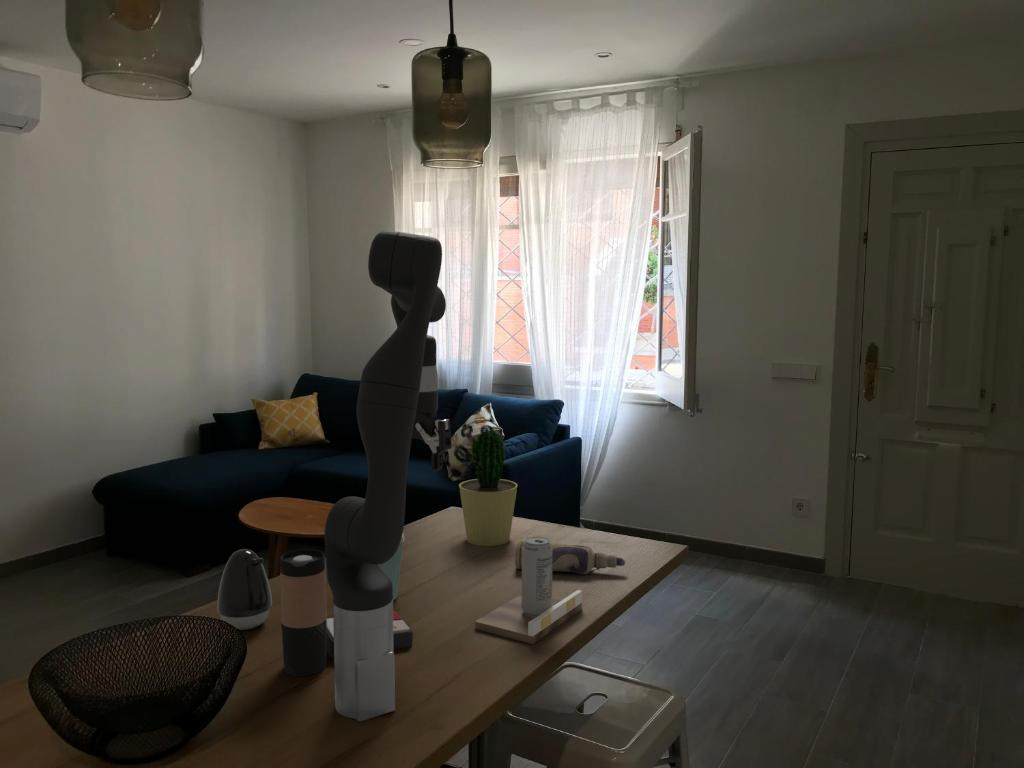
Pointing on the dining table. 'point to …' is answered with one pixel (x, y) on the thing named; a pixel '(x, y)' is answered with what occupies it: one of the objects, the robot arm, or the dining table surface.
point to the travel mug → (303, 611)
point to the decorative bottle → (574, 558)
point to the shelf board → (518, 621)
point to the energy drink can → (536, 576)
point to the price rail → (554, 613)
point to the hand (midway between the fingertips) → (419, 468)
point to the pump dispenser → (244, 591)
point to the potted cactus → (488, 494)
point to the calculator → (400, 634)
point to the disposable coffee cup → (394, 568)
